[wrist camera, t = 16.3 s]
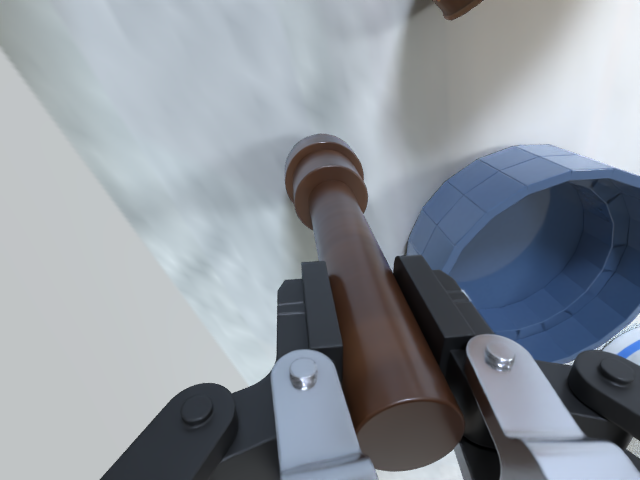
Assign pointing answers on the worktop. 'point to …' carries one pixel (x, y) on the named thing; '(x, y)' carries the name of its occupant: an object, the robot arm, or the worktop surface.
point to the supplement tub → (626, 346)
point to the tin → (455, 7)
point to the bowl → (539, 246)
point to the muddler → (372, 317)
